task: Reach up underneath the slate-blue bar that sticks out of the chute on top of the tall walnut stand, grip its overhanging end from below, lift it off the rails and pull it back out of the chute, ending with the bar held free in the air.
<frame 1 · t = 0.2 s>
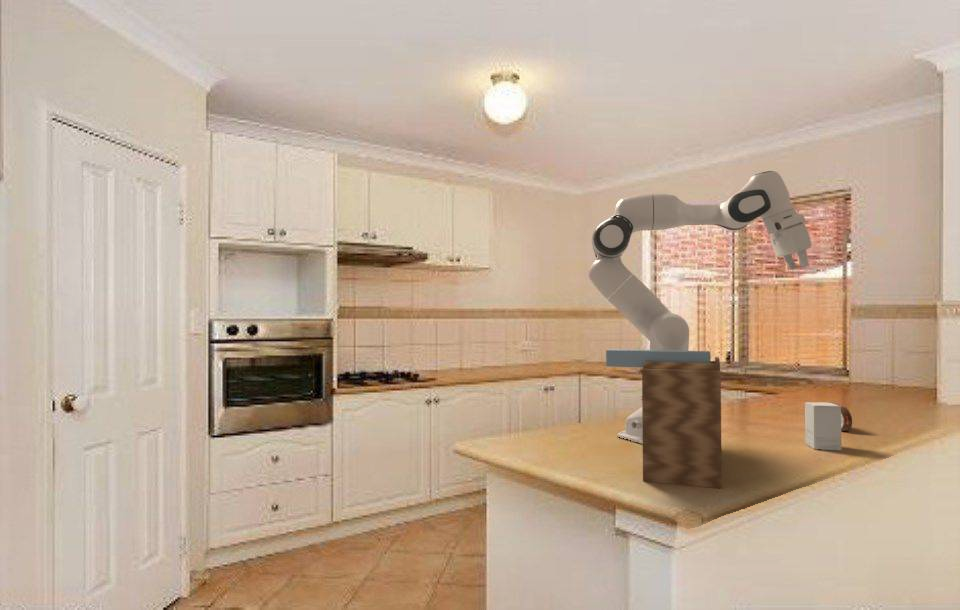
hand: (799, 267, 169), 52 cm above the countertop, tool tilted 20°, fingers open, 8 cm apart
bar: (657, 367, 141), point 26 cm above the countertop, touching stand
supplement box: (823, 448, 168), on the countertop
stand: (682, 476, 138), on the countertop
tin: (834, 429, 194), on the countertop
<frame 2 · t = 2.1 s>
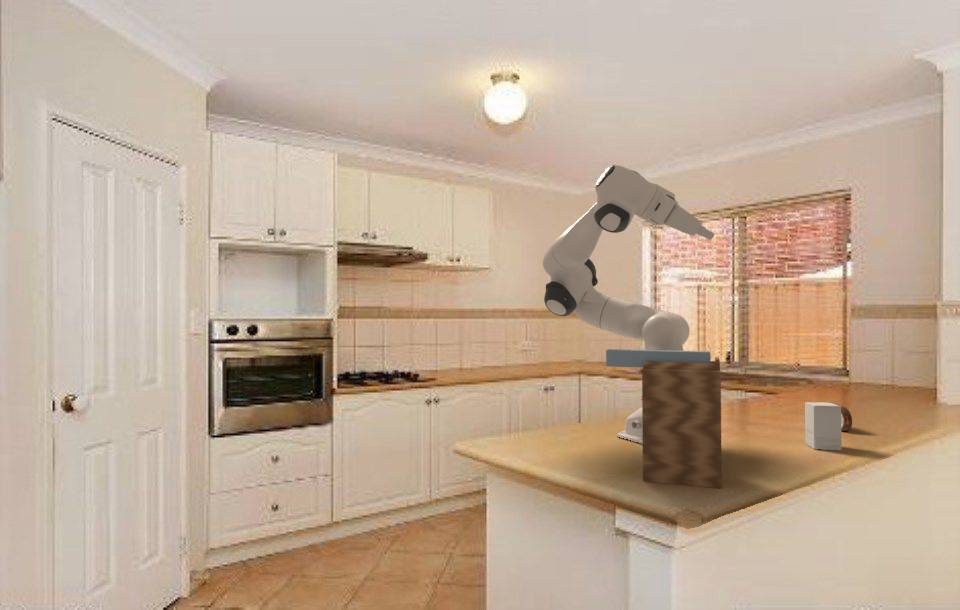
hand: (708, 234, 142), 59 cm above the countertop, tool tilted 60°, fingers open, 8 cm apart
nothing on the countertop moved.
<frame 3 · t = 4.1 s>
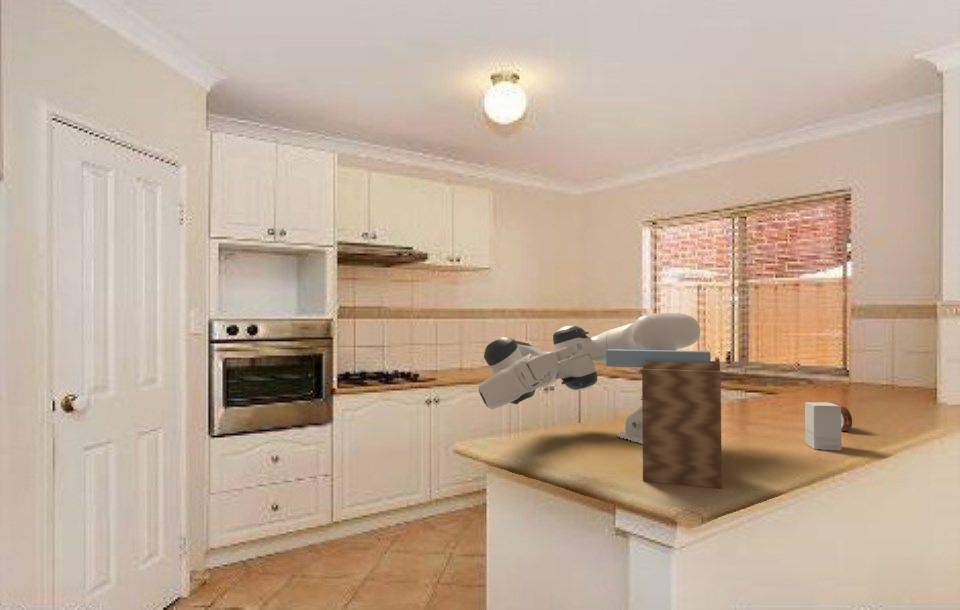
hand: (579, 346, 147), 31 cm above the countertop, tool pointing upward, fingers open, 8 cm apart
nothing on the countertop moved.
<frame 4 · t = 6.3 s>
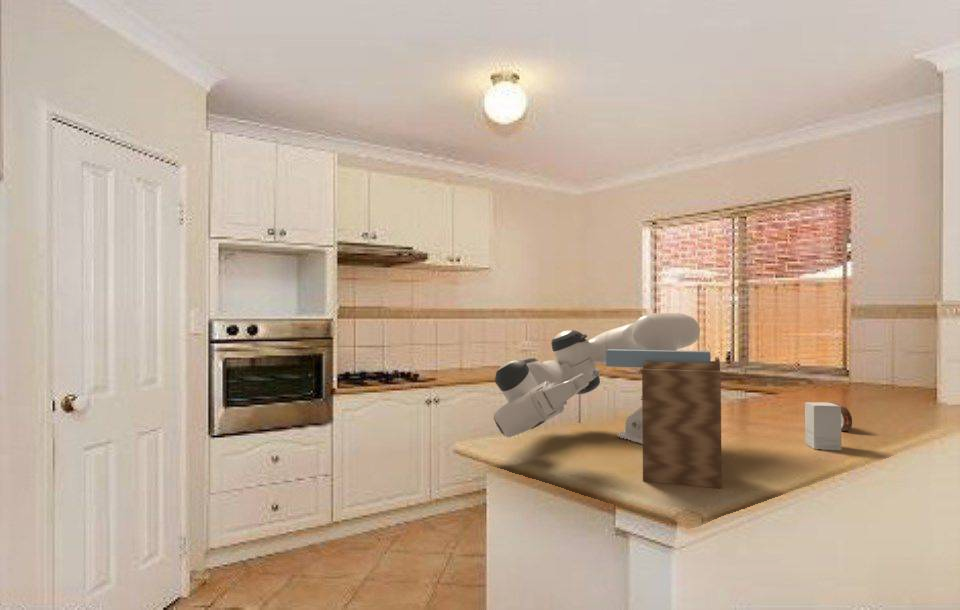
hand: (595, 373, 145), 24 cm above the countertop, tool pointing upward, fingers open, 8 cm apart
nothing on the countertop moved.
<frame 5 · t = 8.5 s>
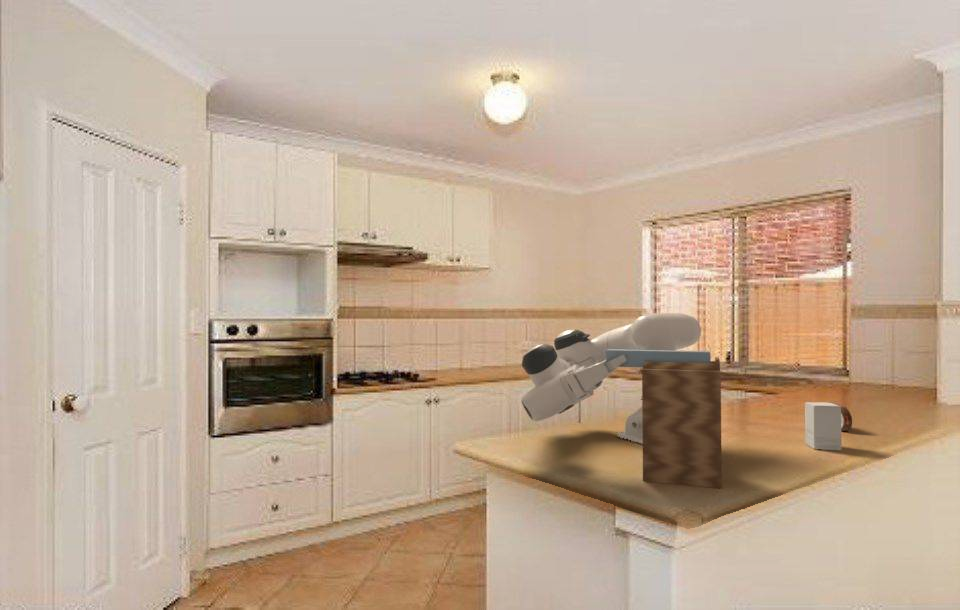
hand: (626, 356, 143), 28 cm above the countertop, tool pointing upward, fingers closed on bar, 4 cm apart
bar: (657, 367, 141), point 26 cm above the countertop, touching gripper, stand
everything else where it was.
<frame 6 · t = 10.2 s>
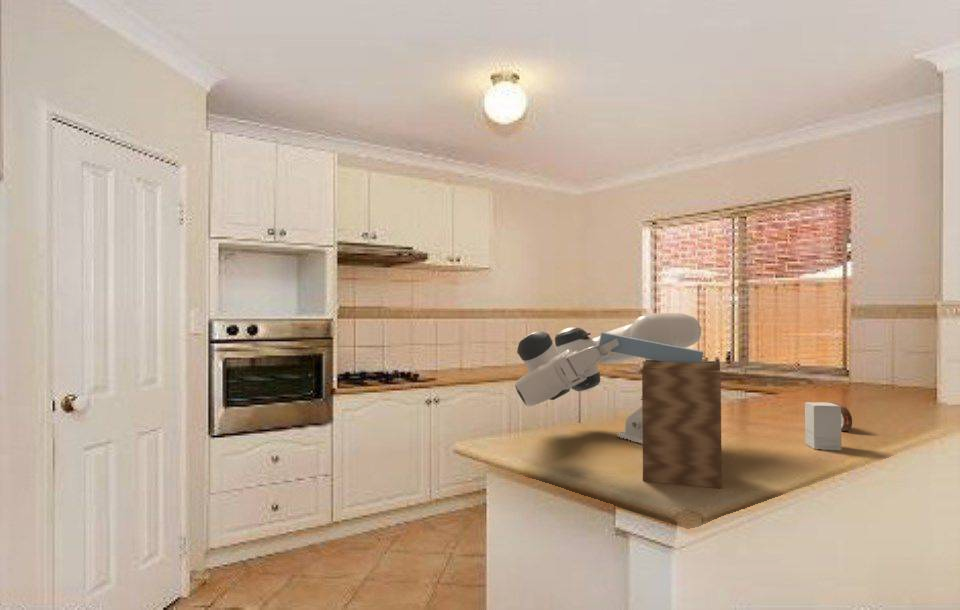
hand: (619, 340, 144), 32 cm above the countertop, tool pointing upward, fingers closed on bar, 4 cm apart
bar: (648, 358, 141), point 28 cm above the countertop, tilted 10°, touching gripper, stand
everything else where it was.
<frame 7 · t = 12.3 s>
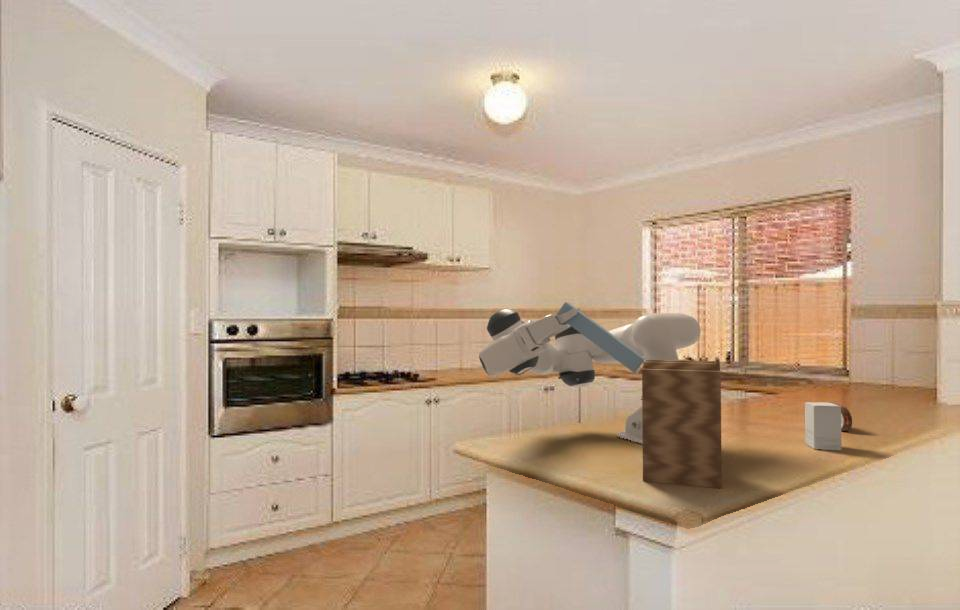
hand: (578, 310, 147), 40 cm above the countertop, tool pointing upward, fingers closed on bar, 4 cm apart
bar: (595, 342, 146), point 32 cm above the countertop, tilted 36°, touching gripper
everything else where it was.
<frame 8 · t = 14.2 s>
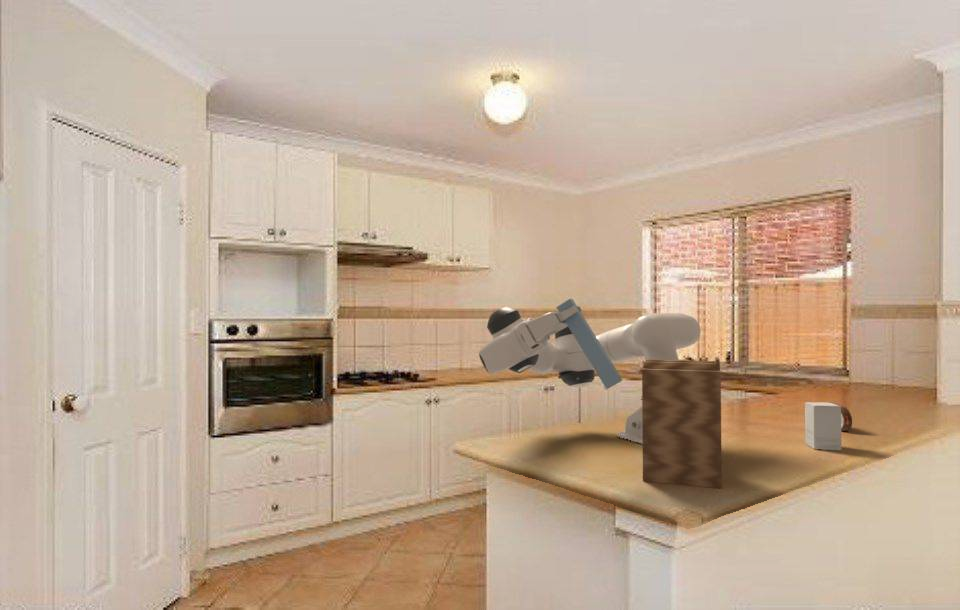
hand: (578, 308, 148), 40 cm above the countertop, tool pointing upward, fingers closed on bar, 4 cm apart
bar: (582, 347, 147), point 30 cm above the countertop, tilted 58°, touching gripper
everything else where it was.
at the end: the gripper is holding bar; bar moved 18.7 cm from its start; bar touching gripper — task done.
